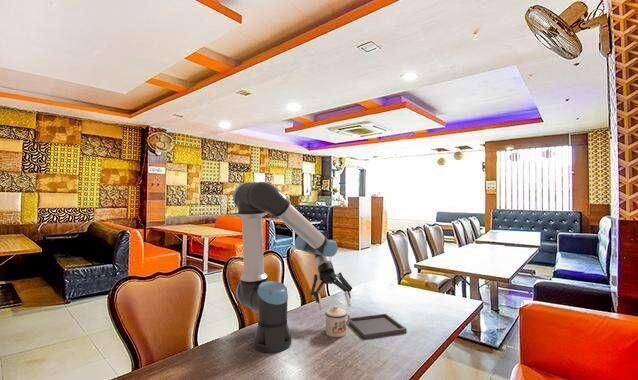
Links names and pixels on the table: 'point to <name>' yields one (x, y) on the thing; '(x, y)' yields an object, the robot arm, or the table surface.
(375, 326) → the tea tray
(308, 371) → the table surface
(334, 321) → the teacup with lid
